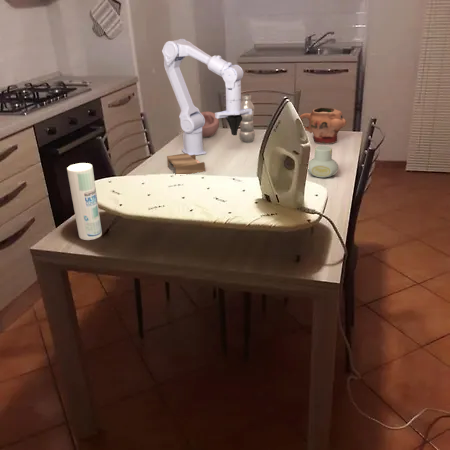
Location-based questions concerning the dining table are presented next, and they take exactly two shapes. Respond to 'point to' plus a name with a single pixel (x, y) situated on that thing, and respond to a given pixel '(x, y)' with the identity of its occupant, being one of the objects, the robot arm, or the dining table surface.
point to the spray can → (85, 200)
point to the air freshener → (323, 163)
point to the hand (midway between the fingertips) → (234, 134)
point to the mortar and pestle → (209, 124)
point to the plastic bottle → (247, 120)
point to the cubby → (184, 164)
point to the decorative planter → (324, 124)
